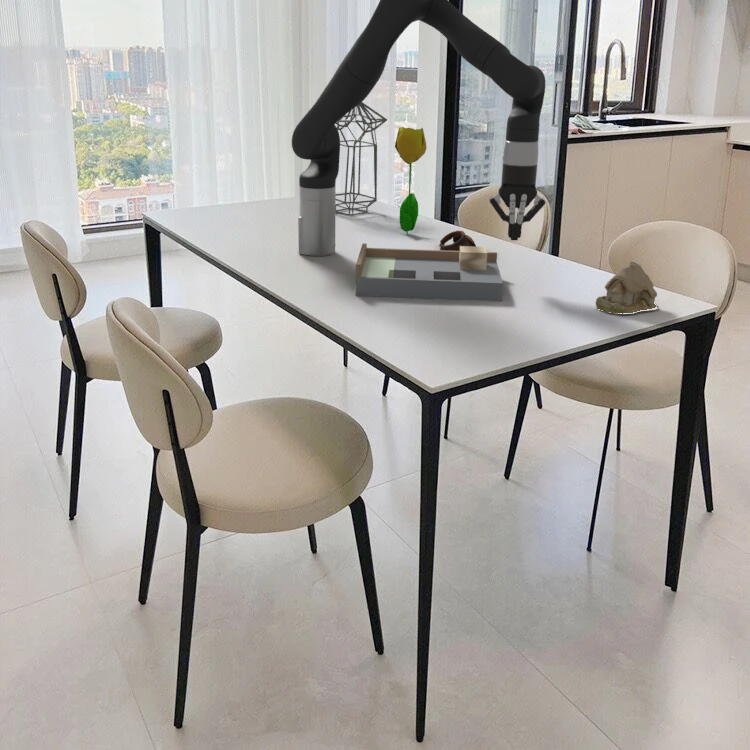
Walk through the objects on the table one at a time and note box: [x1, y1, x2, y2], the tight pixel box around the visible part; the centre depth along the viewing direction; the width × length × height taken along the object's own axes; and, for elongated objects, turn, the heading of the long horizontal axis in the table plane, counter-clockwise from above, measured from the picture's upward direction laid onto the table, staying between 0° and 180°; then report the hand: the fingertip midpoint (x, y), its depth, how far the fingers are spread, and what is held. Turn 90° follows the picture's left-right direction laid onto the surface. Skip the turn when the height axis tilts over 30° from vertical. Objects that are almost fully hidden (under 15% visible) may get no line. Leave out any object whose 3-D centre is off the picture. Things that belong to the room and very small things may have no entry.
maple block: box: [459, 246, 488, 270], centre depth 194 cm, size 6×6×4 cm
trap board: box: [355, 243, 504, 302], centre depth 192 cm, size 32×20×7 cm, turn 87°
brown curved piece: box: [438, 230, 477, 251], centre depth 218 cm, size 12×10×8 cm
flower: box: [394, 126, 427, 235], centre depth 238 cm, size 9×8×30 cm
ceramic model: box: [594, 261, 658, 314], centre depth 180 cm, size 14×11×10 cm
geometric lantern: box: [335, 101, 388, 216], centre depth 265 cm, size 16×16×35 cm
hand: (514, 239), depth 192 cm, fingers closed
